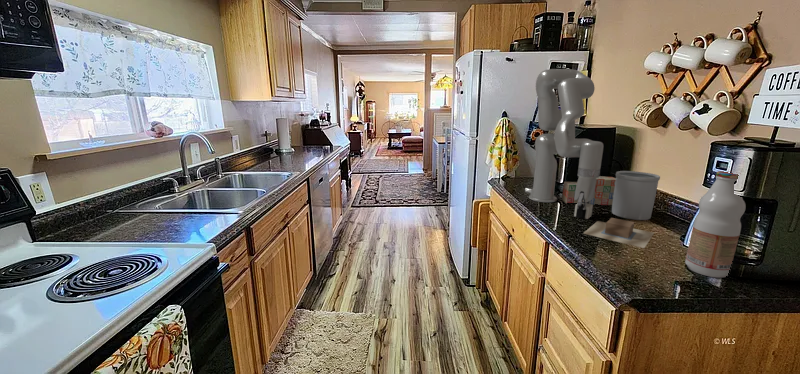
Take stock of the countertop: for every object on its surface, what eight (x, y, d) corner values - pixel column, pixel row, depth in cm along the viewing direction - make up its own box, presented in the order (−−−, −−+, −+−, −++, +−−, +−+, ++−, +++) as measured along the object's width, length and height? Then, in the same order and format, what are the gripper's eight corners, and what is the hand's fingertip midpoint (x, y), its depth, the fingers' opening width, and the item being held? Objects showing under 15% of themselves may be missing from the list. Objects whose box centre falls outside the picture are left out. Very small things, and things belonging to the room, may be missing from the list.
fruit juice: (683, 271, 95) (705, 173, 88) (684, 259, 102) (705, 167, 95) (730, 282, 89) (757, 178, 82) (727, 269, 96) (752, 172, 89)
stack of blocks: (566, 204, 158) (569, 178, 155) (561, 200, 164) (564, 175, 161) (615, 205, 156) (619, 179, 153) (608, 201, 162) (612, 176, 159)
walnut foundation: (604, 233, 120) (606, 222, 119) (609, 227, 124) (611, 217, 123) (627, 238, 115) (629, 227, 114) (632, 232, 120) (634, 222, 119)
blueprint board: (582, 236, 120) (582, 233, 119) (597, 223, 132) (597, 220, 132) (643, 251, 108) (644, 248, 107) (653, 235, 120) (654, 232, 120)
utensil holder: (611, 207, 152) (617, 169, 148) (652, 213, 144) (659, 173, 140) (608, 216, 140) (614, 174, 136) (652, 223, 132) (660, 179, 128)
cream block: (573, 218, 138) (575, 204, 136) (577, 215, 141) (579, 201, 140) (587, 221, 134) (589, 207, 133) (590, 218, 138) (592, 204, 136)
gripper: (585, 168, 142) (579, 210, 146) (571, 174, 130) (565, 219, 134) (605, 171, 136) (598, 214, 141) (592, 177, 125) (586, 224, 129)
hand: (582, 216), depth 137 cm, fingers closed on cream block, 5 cm apart
